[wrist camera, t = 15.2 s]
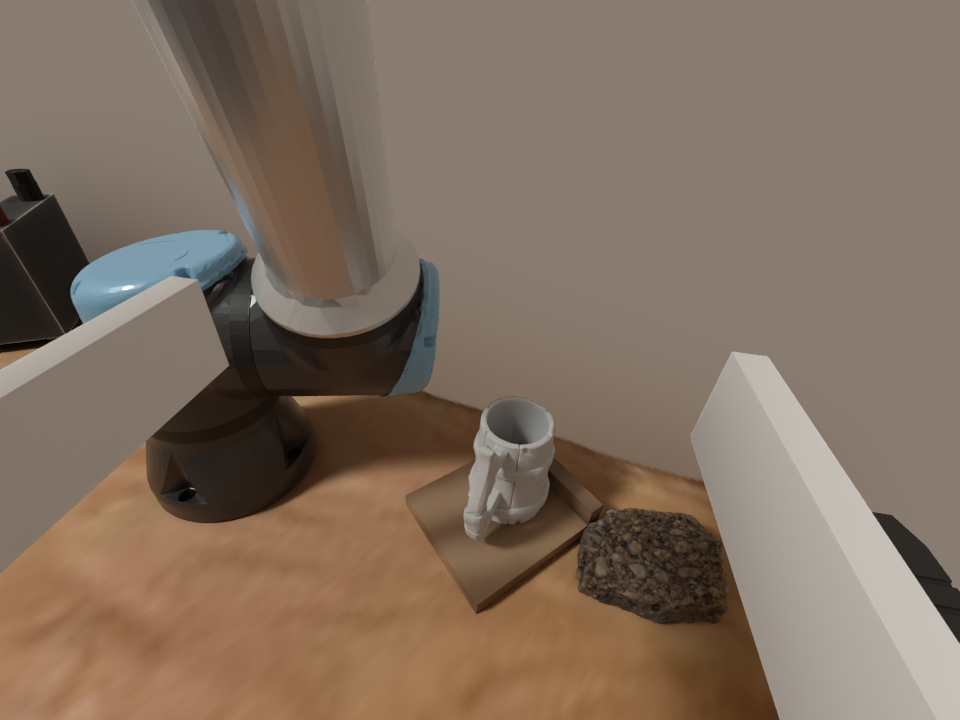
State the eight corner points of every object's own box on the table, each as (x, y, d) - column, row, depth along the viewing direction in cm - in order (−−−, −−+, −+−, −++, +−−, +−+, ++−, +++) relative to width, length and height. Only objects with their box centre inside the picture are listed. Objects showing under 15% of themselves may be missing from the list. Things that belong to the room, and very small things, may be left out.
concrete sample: (713, 553, 40) (735, 522, 37) (707, 666, 32) (735, 638, 29) (592, 502, 43) (603, 470, 40) (562, 592, 36) (573, 561, 33)
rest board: (406, 505, 42) (404, 482, 40) (516, 447, 49) (519, 425, 46) (476, 613, 34) (478, 592, 32) (595, 526, 41) (603, 504, 39)
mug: (557, 481, 43) (580, 391, 36) (507, 583, 35) (525, 491, 27) (490, 451, 46) (500, 362, 39) (429, 539, 37) (426, 445, 30)
